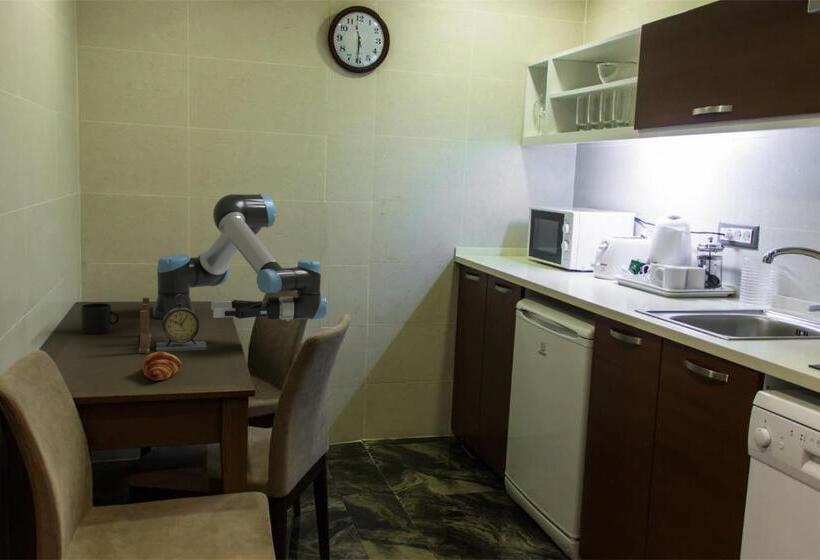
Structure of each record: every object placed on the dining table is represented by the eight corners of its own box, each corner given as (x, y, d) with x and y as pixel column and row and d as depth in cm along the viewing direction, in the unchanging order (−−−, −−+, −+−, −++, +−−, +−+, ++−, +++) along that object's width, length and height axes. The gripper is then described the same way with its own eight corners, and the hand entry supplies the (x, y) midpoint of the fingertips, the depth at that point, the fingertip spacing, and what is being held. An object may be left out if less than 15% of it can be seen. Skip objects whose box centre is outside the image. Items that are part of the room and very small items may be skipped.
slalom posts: (141, 335, 253) (141, 297, 252) (151, 335, 254) (150, 297, 252) (138, 353, 229) (138, 311, 227) (149, 353, 230) (148, 311, 228)
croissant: (155, 376, 218) (141, 352, 216) (187, 360, 219) (174, 336, 217) (145, 396, 197) (130, 370, 196) (181, 377, 198) (166, 351, 197)
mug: (117, 334, 254) (116, 307, 253) (78, 334, 252) (78, 307, 251) (121, 328, 264) (121, 303, 262) (84, 328, 261) (84, 303, 260)
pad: (156, 345, 241) (156, 342, 241) (205, 343, 246) (205, 341, 246) (156, 351, 233) (156, 348, 233) (206, 349, 237) (206, 347, 237)
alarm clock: (163, 347, 235) (163, 296, 232) (161, 343, 239) (161, 293, 237) (199, 345, 239) (199, 295, 237) (197, 342, 244) (197, 292, 242)
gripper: (284, 327, 235) (214, 328, 229) (274, 312, 259) (210, 313, 253) (284, 303, 234) (214, 304, 228) (274, 291, 258) (210, 291, 252)
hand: (212, 309), depth 240 cm, fingers open, 13 cm apart
